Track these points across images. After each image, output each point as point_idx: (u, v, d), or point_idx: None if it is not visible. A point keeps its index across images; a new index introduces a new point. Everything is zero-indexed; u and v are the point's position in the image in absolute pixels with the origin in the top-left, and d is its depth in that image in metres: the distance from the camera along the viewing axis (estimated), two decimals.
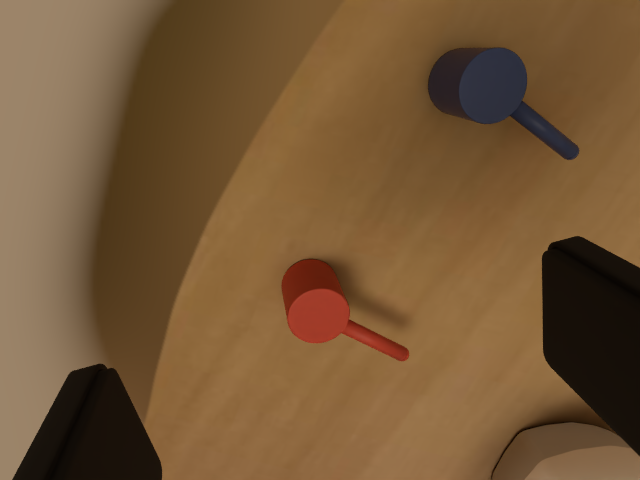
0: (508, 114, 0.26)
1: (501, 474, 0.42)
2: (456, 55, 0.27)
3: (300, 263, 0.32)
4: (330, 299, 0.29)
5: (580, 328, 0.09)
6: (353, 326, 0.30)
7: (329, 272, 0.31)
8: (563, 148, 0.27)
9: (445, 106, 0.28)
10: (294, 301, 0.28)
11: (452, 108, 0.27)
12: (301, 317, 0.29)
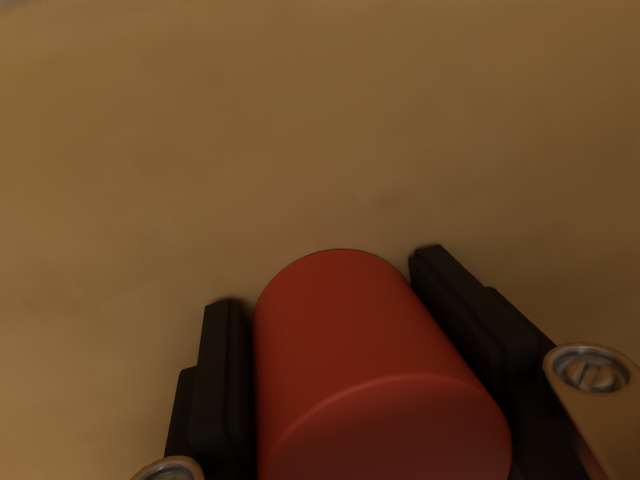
0: None
1: None
2: None
3: (378, 261, 0.10)
4: (477, 456, 0.07)
5: None
6: None
7: None
8: None
9: None
10: (385, 379, 0.06)
11: None
12: (342, 449, 0.07)
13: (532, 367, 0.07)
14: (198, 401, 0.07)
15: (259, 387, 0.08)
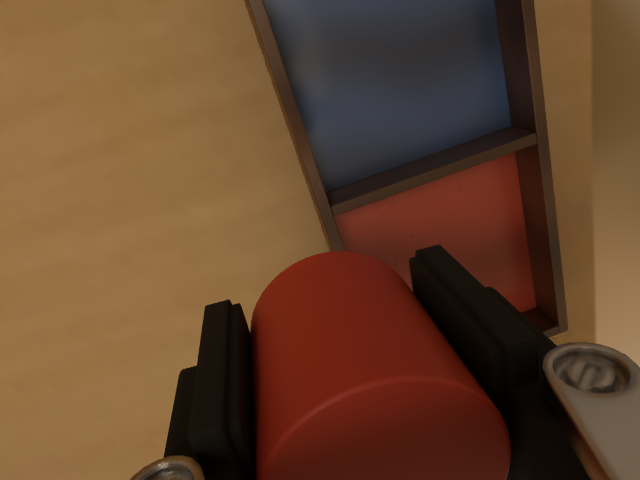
0: None
1: None
2: None
3: (377, 263, 0.10)
4: (476, 458, 0.07)
5: None
6: None
7: None
8: None
9: None
10: (384, 381, 0.06)
11: None
12: (341, 451, 0.07)
13: (532, 367, 0.07)
14: (198, 401, 0.07)
15: (258, 389, 0.08)
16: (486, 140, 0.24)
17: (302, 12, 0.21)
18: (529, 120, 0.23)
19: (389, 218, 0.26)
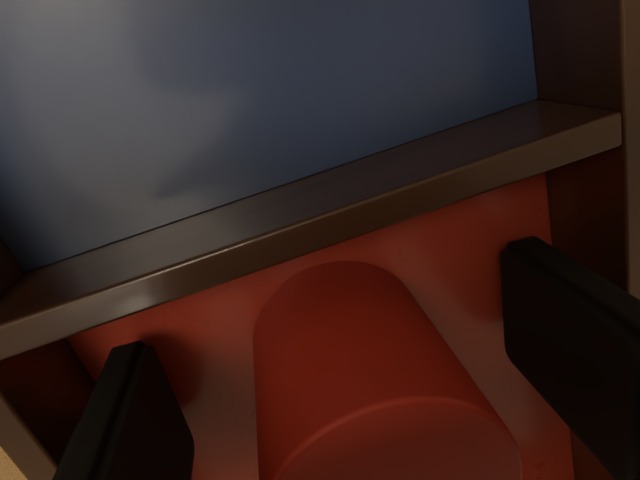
0: None
1: None
2: None
3: (382, 274, 0.10)
4: None
5: (533, 324, 0.09)
6: None
7: None
8: None
9: None
10: (392, 403, 0.06)
11: None
12: (348, 474, 0.06)
13: None
14: (62, 473, 0.06)
15: (261, 406, 0.08)
16: (471, 134, 0.09)
17: None
18: (599, 74, 0.08)
19: (224, 330, 0.10)
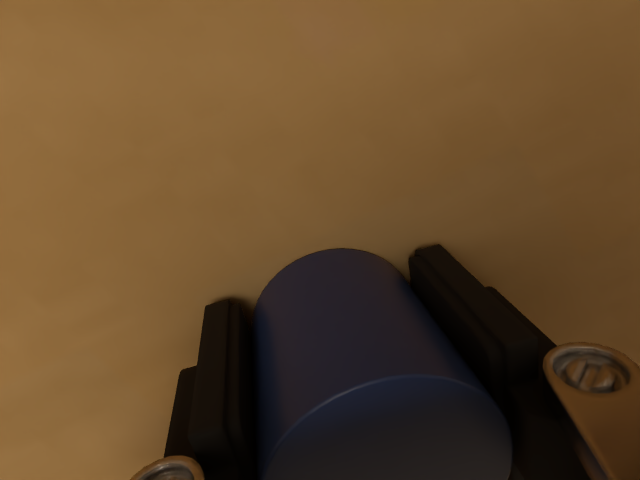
0: None
1: None
2: (371, 291, 0.08)
3: None
4: None
5: None
6: None
7: None
8: None
9: (253, 379, 0.09)
10: None
11: None
12: None
13: (532, 367, 0.07)
14: (198, 401, 0.07)
15: None
16: None
17: None
18: None
19: None
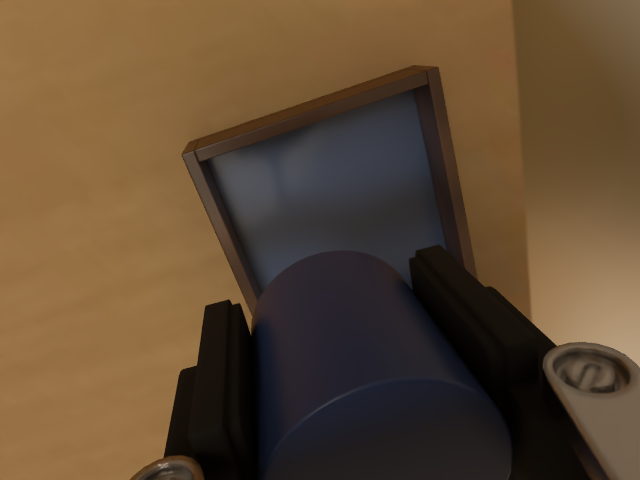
0: None
1: None
2: (371, 293, 0.08)
3: None
4: None
5: None
6: None
7: None
8: None
9: (253, 380, 0.09)
10: None
11: (255, 417, 0.08)
12: None
13: (532, 367, 0.07)
14: (198, 401, 0.07)
15: None
16: None
17: (257, 196, 0.24)
18: None
19: None
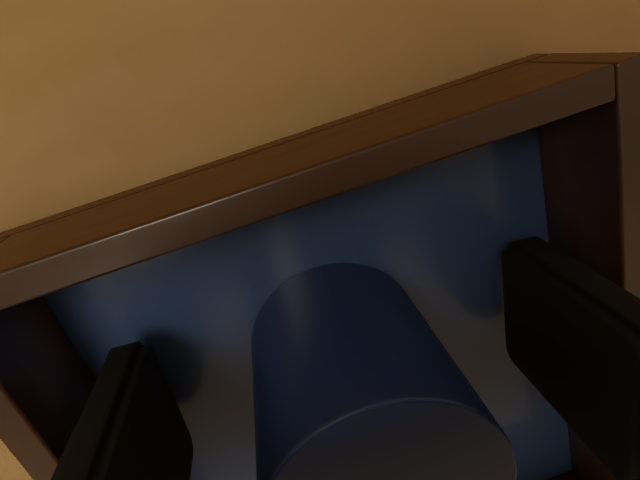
0: None
1: None
2: (372, 308, 0.08)
3: None
4: None
5: (535, 324, 0.09)
6: None
7: None
8: None
9: (253, 396, 0.09)
10: None
11: (255, 435, 0.08)
12: None
13: None
14: (60, 475, 0.06)
15: None
16: None
17: (169, 352, 0.10)
18: None
19: None
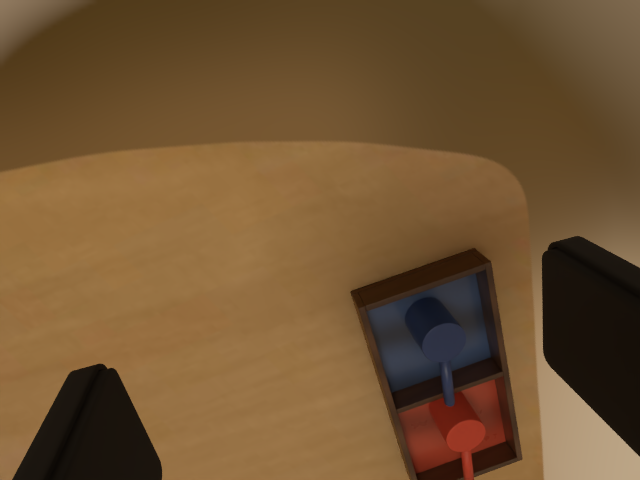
0: (439, 361, 0.40)
1: None
2: (438, 308, 0.41)
3: None
4: (479, 432, 0.44)
5: (580, 328, 0.09)
6: (470, 452, 0.45)
7: None
8: (448, 398, 0.42)
9: (412, 327, 0.41)
10: (466, 420, 0.43)
11: (416, 333, 0.40)
12: (459, 430, 0.43)
13: None
14: None
15: (441, 420, 0.45)
16: (477, 368, 0.46)
17: (385, 319, 0.43)
18: (499, 364, 0.45)
19: None
